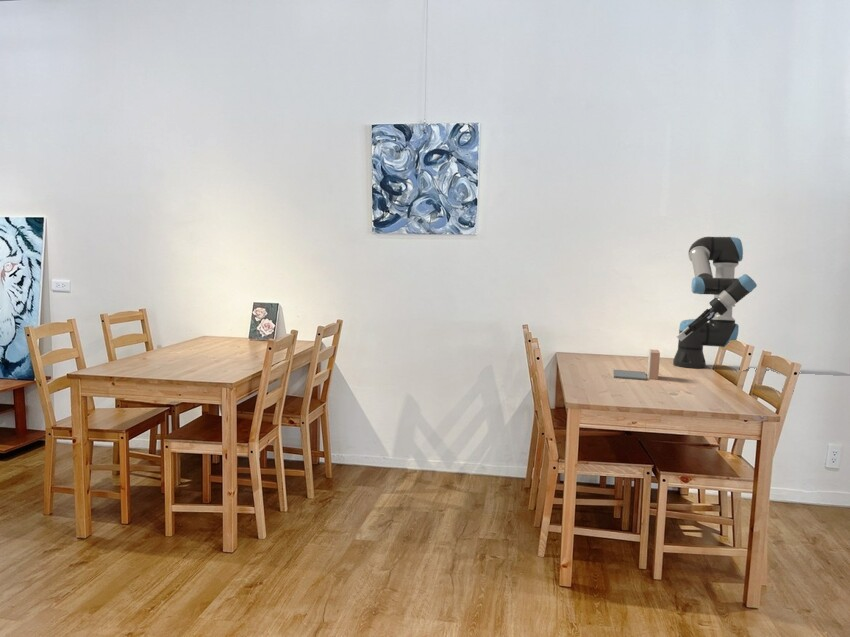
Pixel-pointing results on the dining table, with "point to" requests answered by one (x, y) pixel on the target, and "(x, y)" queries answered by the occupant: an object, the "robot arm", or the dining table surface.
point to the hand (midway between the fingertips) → (678, 338)
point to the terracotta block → (653, 364)
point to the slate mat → (629, 374)
